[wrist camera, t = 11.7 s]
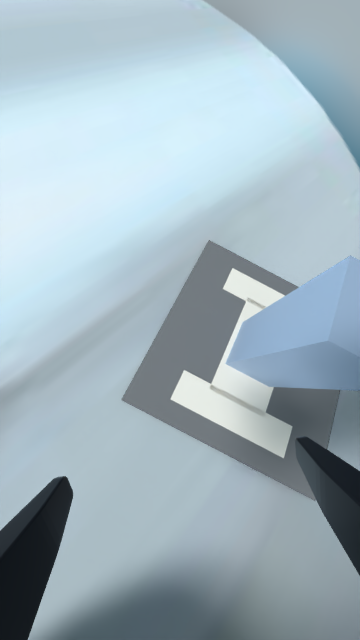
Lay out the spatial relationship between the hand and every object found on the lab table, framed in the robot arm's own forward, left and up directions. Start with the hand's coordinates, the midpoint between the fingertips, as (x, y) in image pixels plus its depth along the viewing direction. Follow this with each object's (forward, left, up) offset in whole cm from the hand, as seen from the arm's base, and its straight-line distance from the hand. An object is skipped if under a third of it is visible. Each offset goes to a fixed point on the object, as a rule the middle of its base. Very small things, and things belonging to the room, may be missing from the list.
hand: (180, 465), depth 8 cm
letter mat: (+3, -11, -12) cm, 17 cm away
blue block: (+3, -11, -12) cm, 16 cm away
